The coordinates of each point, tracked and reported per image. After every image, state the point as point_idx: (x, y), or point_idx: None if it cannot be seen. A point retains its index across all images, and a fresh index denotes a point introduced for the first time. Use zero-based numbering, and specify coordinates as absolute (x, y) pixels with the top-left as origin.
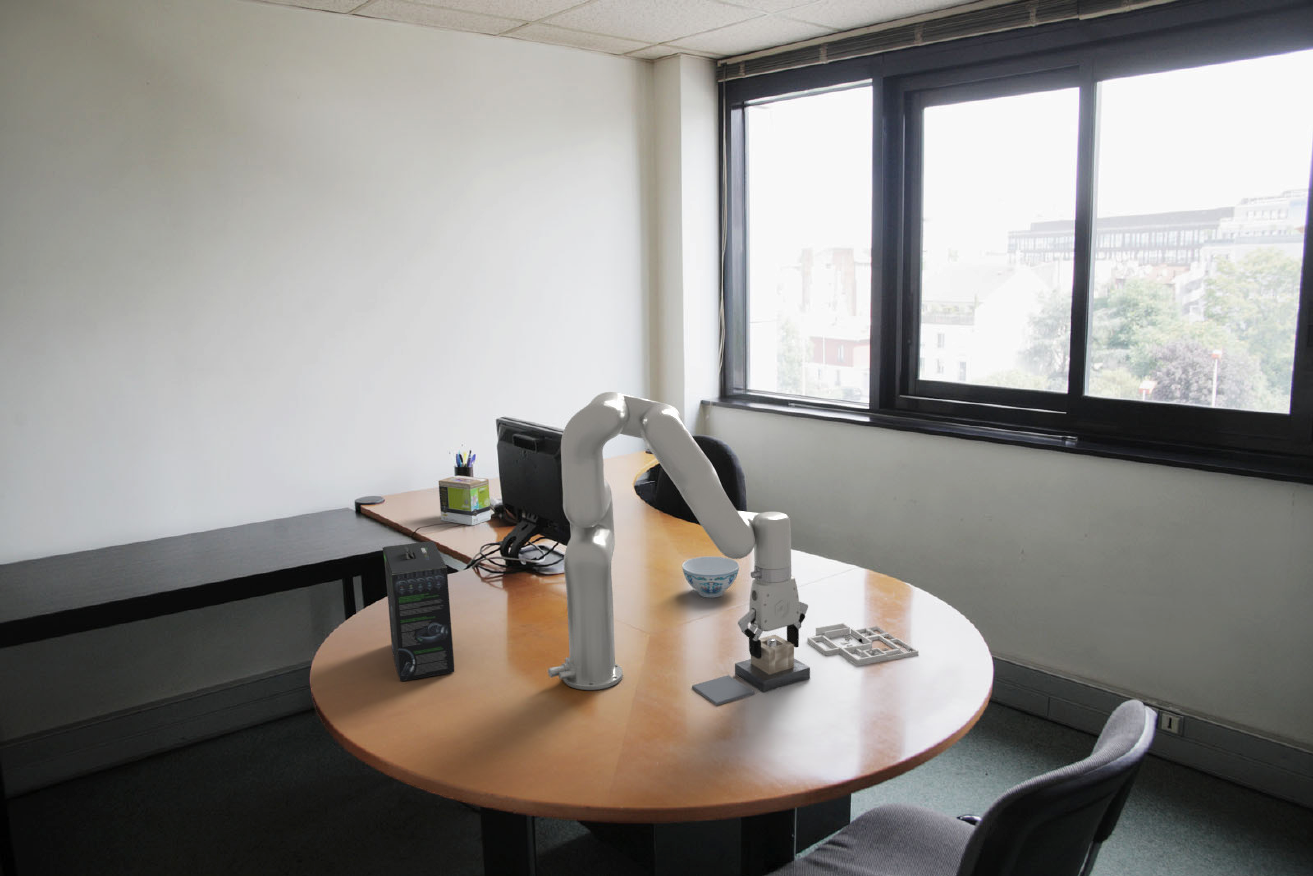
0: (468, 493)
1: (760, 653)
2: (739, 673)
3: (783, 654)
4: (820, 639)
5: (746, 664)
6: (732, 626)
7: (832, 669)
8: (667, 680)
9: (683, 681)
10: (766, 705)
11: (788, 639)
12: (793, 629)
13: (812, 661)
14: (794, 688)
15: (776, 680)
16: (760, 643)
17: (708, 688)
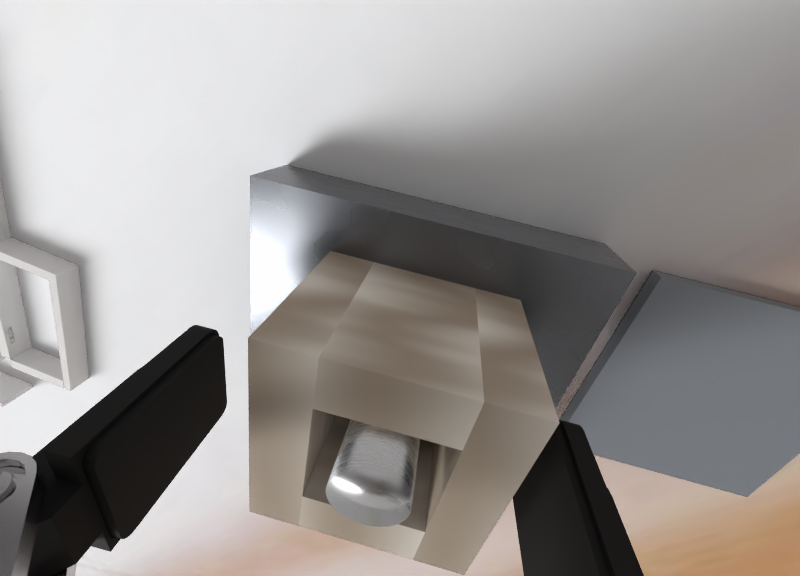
0: None
1: (576, 455)
2: None
3: (392, 331)
4: (31, 354)
5: None
6: (237, 558)
7: (120, 147)
8: (708, 558)
9: (686, 524)
10: (771, 121)
11: (205, 422)
12: (95, 484)
13: (160, 273)
14: (440, 149)
15: (522, 237)
16: (614, 566)
17: (746, 443)
